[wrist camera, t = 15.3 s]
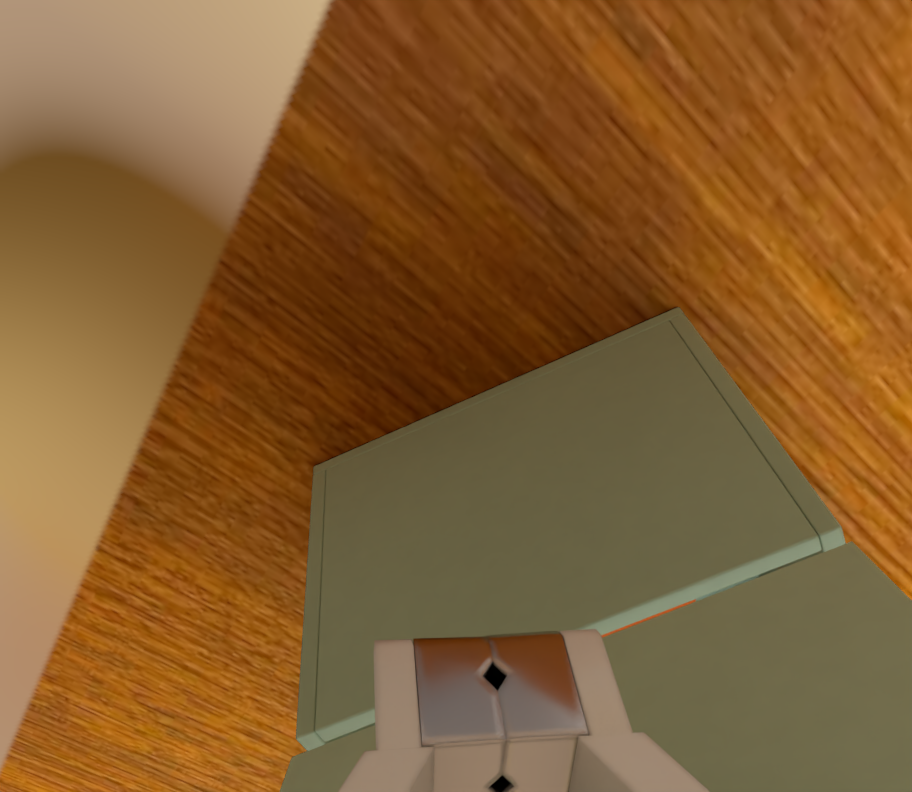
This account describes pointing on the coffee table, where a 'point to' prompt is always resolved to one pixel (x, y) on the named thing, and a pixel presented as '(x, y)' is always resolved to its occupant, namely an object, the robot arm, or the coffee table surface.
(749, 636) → the flap
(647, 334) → the green box
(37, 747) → the coffee table surface
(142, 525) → the coffee table surface
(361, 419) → the coffee table surface
